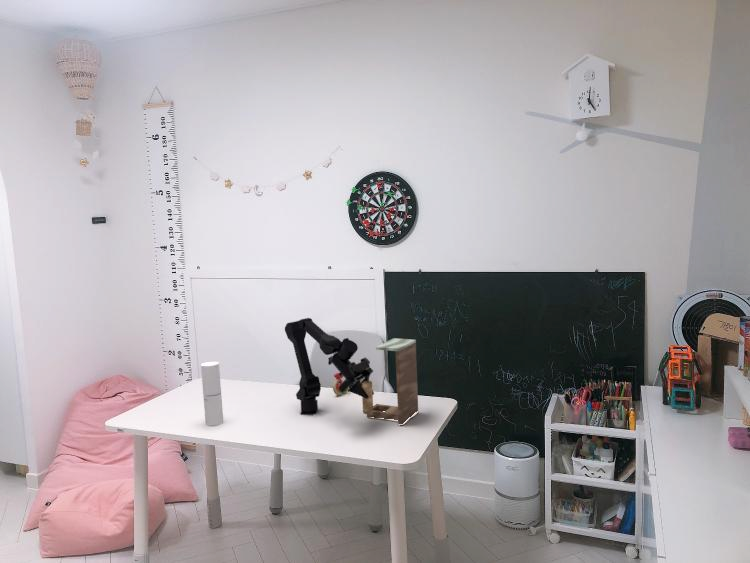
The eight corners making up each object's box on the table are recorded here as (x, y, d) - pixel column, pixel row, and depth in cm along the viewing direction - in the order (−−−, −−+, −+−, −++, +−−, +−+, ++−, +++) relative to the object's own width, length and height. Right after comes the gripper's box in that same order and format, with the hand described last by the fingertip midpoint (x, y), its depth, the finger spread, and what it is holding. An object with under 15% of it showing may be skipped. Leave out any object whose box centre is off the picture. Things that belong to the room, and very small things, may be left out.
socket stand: (362, 420, 244) (359, 345, 240) (380, 408, 258) (377, 337, 254) (401, 426, 236) (398, 348, 232) (418, 413, 250) (415, 339, 246)
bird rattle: (344, 401, 276) (352, 388, 283) (338, 382, 271) (346, 369, 277) (332, 399, 279) (341, 387, 285) (326, 381, 273) (335, 368, 280)
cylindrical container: (218, 426, 245) (213, 366, 242) (202, 425, 246) (197, 366, 243) (226, 420, 252) (221, 361, 249) (210, 419, 253) (205, 361, 250)
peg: (362, 414, 232) (361, 384, 231) (363, 410, 236) (361, 381, 235) (373, 413, 232) (371, 383, 231) (373, 410, 236) (372, 380, 235)
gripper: (344, 358, 225) (371, 390, 221) (367, 347, 241) (393, 376, 238) (327, 377, 230) (354, 408, 226) (351, 364, 246) (376, 394, 242)
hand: (370, 396), depth 233 cm, fingers closed on peg, 4 cm apart
